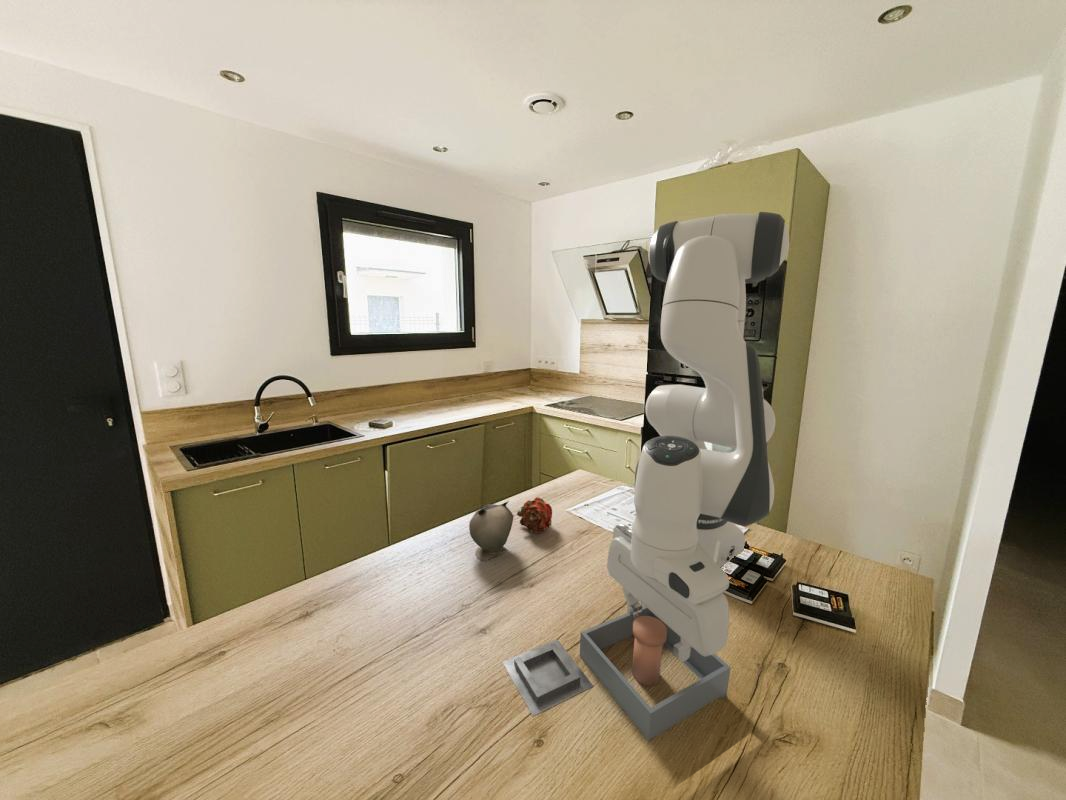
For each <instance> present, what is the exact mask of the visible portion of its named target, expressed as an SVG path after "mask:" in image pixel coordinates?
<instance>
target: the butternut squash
mask: <svg viewBox="0 0 1066 800" xmlns="http://www.w3.org/2000/svg"><path fill="white" fill-rule="evenodd" d="M632 636H633V637H634V643H633V656H632V664H631V665H632V666H631V674H632V676H633V679H635V681H637V682H638V683H639V684H641V685H643V686H647V687H652V686H655V685H657V684H658V683H659V682H660V677H661V665H662V654H663V648H664V643H665V642H666V636H667V628H666V626H665V625H664V624H663V623H662V622H661V621H660V620H658V619H657V618H654V617H651V616H640V617H637V618H636V619H635V620H634V622H633V635H632Z"/></svg>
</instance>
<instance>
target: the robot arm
mask: <svg viewBox="0 0 1066 800" xmlns="http://www.w3.org/2000/svg"><path fill="white" fill-rule="evenodd" d="M648 246H649V247H648V252H647V253H648V255H647V256H648V257H647V258H648V263H649V268H650V272H651V275H653V277H654V278H655V279H657V280H658V281H660V282H663V283H665V289H664V295H663V301H662V307H661V308H662V309H661V317H660V340H661V343H662V345H663V346H664V349H665V350H666V352H667V353H668V354H669V355H670V356H671V357H672V358H673V359H675V360H676V361H678V362H679V363H680V364H682V365H684V366H685V367H688V368H690V369H692V370H694V371H695V372H696V373H697V374H699V375H700V377H701V379H702V380H703V382H704V384H705V385H704V386H705V387H699V386H693V385H686V384H680V383H679V384H665V385H658V386H656V387H655V388H654V389H653V390H652V391H651V393H649V395H648V397H647V399H646V402H645V416H646V419H647V421H648V423H649V424H650V425H651V426H652V427H653V429H654V430H655V431H656V432H657V433H658V435H659V436H656V437H652V438H651V439H649V440H647V441H646V442H645V443H644V444H643V446H642V449H641V452H640V455H639V456H640V457H639V459H638V461H637V463H636V467H635V473H634V497H633V503H634V508H635V517H634V520H633V521H632V522H633V523H632V525H631V526H632V527H631V528H632V529H631V528H630V527H629V526H627V525H626V524H624V523H621V524H616V525H615V526H614V527H613V530H612V540H611V542H610V545H609V548H608V552H607V553H608V554H607V561H606V562H607V563H606V569H607V571H608V574H609V576H610V577H611V578H612V579H613V580H614V581H615V582H617V583H618V584H619V585H620V586H622V591H623V594H624V598H625V602H626V603H627V607H626V610H627V611H626V613H629V614H630V615H632V616H633V617H634V618H636V617H637V616H640V615H641V614H642V610H641V609H642V607H643V606H646V607H647V608H648V609H649V610H650V611H651V612H653V613H654V614H655V615H656V616H657V617H658V618H659V619H661V620H662V621H663V622H664V623H665V624H666V625H667V626H669V627H670V628H671V629H672V630H673V631H674V632H676V633H677V634H678V635H679V636H680V637H681V639H680V640H681V641H680V642H679V644H678V643H677V644H675V645H674V646H673V650H674V652H673V653H672V655H673V656H674V657H675V658H676V659H677V660H678V661H680V662H681V663H683V662H684V661H686V660H687V659H688V658H689V657H690V650H691V648H692V647H693V648H694V649H695V650H696V651H697V652H698V653H700V654H701V655H702V656H705V657H706V656H710V655H713V654H717V653H718V652H720V651H722V650H723V649H724V648H725V646H726V645H727V643H728V637H729V626H730V608H729V602H728V599H727V597H726V596H725V594H724V592H725V591H726V590H727V589H729V586H730V581H731V580H730V581H729V577H728V575H727V574H726V573H725V572H724V571H723V570H722V569H721V568H720V567H721V566H723V565H724V564H726V563H727V562H729V561H730V560H731V559H732V558H734V556H737V555H738V554H740V553H741V552H743V551H744V546H745V545H746V537H745V534H744V532H743V530H741V528H739V526H742V527H747V526H751V525H753V524H756V523H757V522H759V521H761V520H763V519H765V518H766V517H768V516H770V512H771V510H772V507H773V505H774V500H775V484H774V477H773V474H772V470H771V466H770V463H769V458H768V446H767V445H768V444H767V443H768V442H769V440H770V439H771V438H772V437H773V434H774V432H775V430H776V429H775V428H776V415H775V412H774V410H773V407H772V406H771V404H770V403H769V402H768V401H767V400H766V399H765V398H764V386H763V382H762V374H761V373H762V372H761V363H760V358H759V354H758V352H757V350H756V347H755V346H754V345H752V344H750V343H749V342H746V341H745V339H744V331H745V324H746V314H747V313H746V311H747V310H746V309H747V293H746V292H747V291H746V289H747V288H746V280H747V281H748V280H749V281H750V280H751V281H752V283H751V284H752V288H754V287H757V286H758V283H759V282H761V281H764V280H767V279H769V278H771V276H773V275H774V274H776V273H777V272H778V271H779V270H780V266H781V265H782V264H783V262H784V261H785V259H786V257H787V254H788V252H789V251H788V250H789V246H790V235H789V230H788V227H787V225H786V219H785V218H784V217H783V216H782V214H779V213H776V212H768V211H767V212H766V211H759V212H758V213H722V214H715V215H712V216H705V217H704V216H703V217H698V218H692V219H689V220H688V219H687V220H684V221H679V222H678V220H674V221H671V222H668V223H665V224H662V225H660V226H659V227H658V228H657V229H656V230H655V231H654V233H653V234H652V236H651V239H650V244H649V245H648ZM705 443H708V444H709V443H710V444H713V445H717V446H721V447H725V448H730V449H735V450H733V451H731V452H727V451H726V452H723V451H719V450H717V451H716V450H712V449H711V450H710V449H708V448H707V446H706V444H705ZM737 525H739V526H737Z"/></svg>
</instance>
